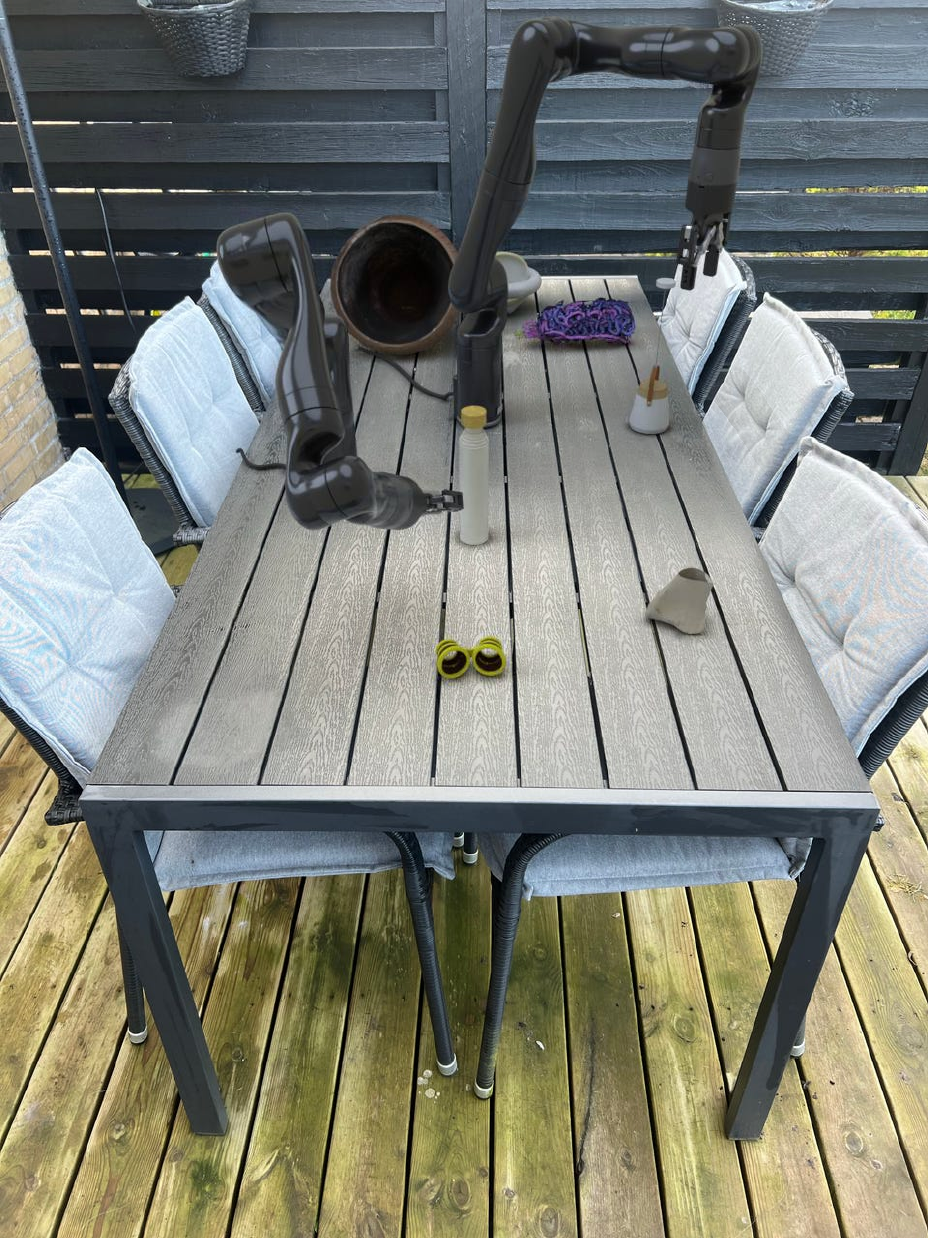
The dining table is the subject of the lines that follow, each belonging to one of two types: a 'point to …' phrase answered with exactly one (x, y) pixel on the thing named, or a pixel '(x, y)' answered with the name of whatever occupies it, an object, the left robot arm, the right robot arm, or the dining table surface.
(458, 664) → the opera glasses
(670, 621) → the grey flared hollow piece
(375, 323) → the pot
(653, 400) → the pendant light
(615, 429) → the dining table surface
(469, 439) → the bottle
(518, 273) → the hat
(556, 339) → the decorative ornament
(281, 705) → the dining table surface
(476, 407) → the cap
